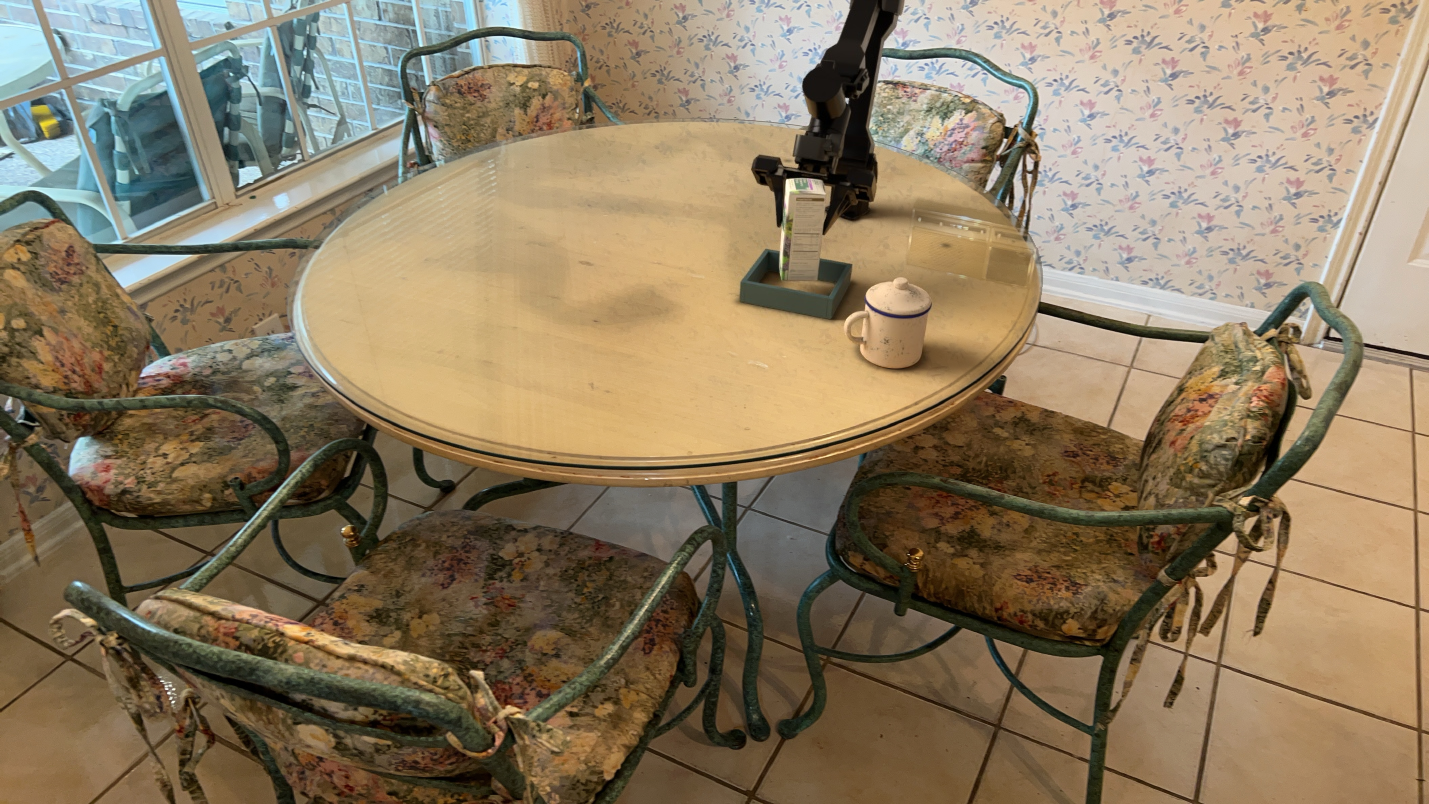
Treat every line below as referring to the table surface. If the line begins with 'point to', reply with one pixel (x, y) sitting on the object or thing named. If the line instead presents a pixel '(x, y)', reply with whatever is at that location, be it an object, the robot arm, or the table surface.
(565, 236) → the table surface
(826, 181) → the robot arm
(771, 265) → the teal square frame
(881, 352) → the teacup with lid
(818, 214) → the syrup box
